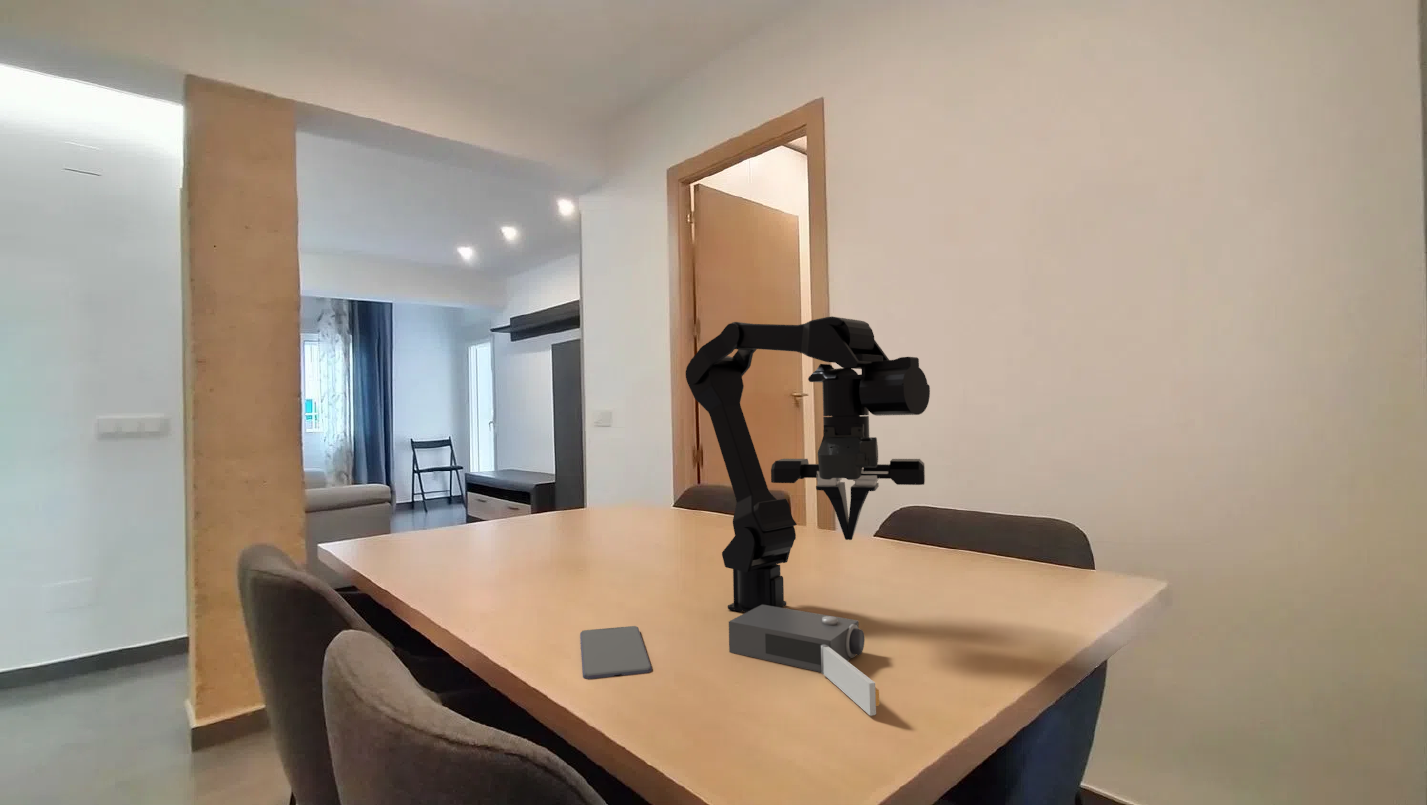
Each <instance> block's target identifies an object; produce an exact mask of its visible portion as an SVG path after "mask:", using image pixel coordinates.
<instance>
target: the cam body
mask: <svg viewBox="0 0 1427 805" xmlns="http://www.w3.org/2000/svg"><path fill="white" fill-rule="evenodd" d="M859 625H860V624H859V620H857V619H852V618H845V617H840V616H833V615H827V614H822V613H815V612H811V611H810V612H809V611H803V610H797V609H790V608H786V607H782V608H780V607H774V606H768V605H760V606H758V607H756V608H754V609H752V610H750V611H748V612H743V614H740V615H738V616H737V617H735V618H732V619H731V620H729V621H728V650H729V651H728V653H732V654H736V655H742V656H746V657H749V658H750V657H751V658H755V659H760V660H762V661H763V660H764V661H768V662H773V663H778V664H782V665H786V666H791V667H796V668H799V669H805V670H810V671H814V672H818V673H821V645H824V644H825V645H828V646H829V647H830V648H831V649H832V650H834V651H835V652H836V653H838V654H839V655H840V656H841V657H843V658H844V659H845V660H847V661H848V662H849V661H850V660H851V659H853V658H855V657H856V656H860V655H862V653H863V651H864V647H865V632H864V631H863V629H861V628H859V627H860V626H859Z"/></svg>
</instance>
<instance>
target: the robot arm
mask: <svg viewBox="0 0 1427 805" xmlns="http://www.w3.org/2000/svg"><path fill="white" fill-rule="evenodd" d="M735 350H737V351H736V352H735V353H734V355H732V356H729V355H730V354H732V353H733V352H734V351H735ZM757 350H765V351H766V350H767V351H780V352H781V351H782V352H797V353H799V354H803V355H805V356H806V357H808V358H812V359H815V360H818V361H821V362H826V363H820V364H819V365H818V367H817V369H816V370H815V371H813V372H812V373H811V374H810V376H808V379H807V380H808V381H809V383H822V415H823V417H822V419H823V420H822V421H823V422H822V423H823V424H822V425H823V426H822V427H823V428H822V429H823V430H822V431H823V437H822V439H821V442H820V445H819V448H818V450H817V460H818V463H809V460H808V458H781V459H777V460H775V461H774V462H773V463H772V464H771V468H770V479H771V480H770V483H773V484H795V483H796V482H797V481H799V480H804V479H805V478H806V479H810V478H811V479H816V481H817V484H816V485H815V489H816V491H823V492H824V493H825V495H826V496H827V498H828V499H829V502H830V503H831V505H832V507H833V509H834V512H835V514H836V517H837V521H838V522H839V526H840V528H841V531H842V535H843V538H844V539H845V541H852V540H853V539H854V534H855V531H856V528H857V525H858V521H859V519H860V515H861V512H862V509H863V506H864V503H865V501H866V499H867V497H868V495H869V493H870V492H876V491H877V490H878V488H879V486H880V485H879V482H878V480H879V479H881V480H882V479H885V480H886V479H887V480H889V479H891V481H893V483H895V484H896V485H897V486H898V485H900V486H902V485H903V486H904V485H905V486H907V485H908V486H921V485H922V486H923V485H925V483H926V470H925V469H926V468H925V462H923V460H922V459H921V458H891V460H890V461H889V462H890V463H887V464H886V463H885V464H884V463H883V464H882V463H881V464H879V446H878V438H877V437H870V417H869V416H870V414H872V415H873V416H918V415H922V414H923V413H924V412H926V409H927V407H928V405H929V401H930V396H931V388H930V385H929V384H928V380H927V377H926V374H925V373H924V371H923V369H921V368H920V359H919V358H918V357H914V356H901V357H898V358H896V359H890V358H888V356H887V355H886V353H885V352H884V351H883V349H882V348H881V346H880V345H879V343H878V342H877V341H876V340H875V334H874V331H873V329H872V327H871V326H870V324H869V323H868V322H866V321H864V320H860V319H853V318H846V317H845V318H844V317H838V316H826V317H821V318H817V319H811V320H810V321H807V322H805V323H801V324H771V323H770V324H768V323H764V324H763V323H750V322H741V321H732V322H731V323H728V324H727V325H726V326H725V327H724V329H723V330H722V331H721V333H719V334H718V335H717V336H715V337H714V338H712V339H711V340H709V341H708V342H707V343H705V344H703V346H701V347H699V349H698V351H697V352H696V353H695V355H693V357H692V358H691V359H690V361H689V362H688V364H687V366H686V368H685V380H686V382H687V385H688V388H689V389H690V392H691V393H692V396H693V398H694V400H695V401H696V402H698V404H699V405H700V406H702V408H703V409H704V410H705V411H707V413H708V414H709V417H710V420H711V423H712V427H713V430H714V432H715V433H714V434H715V436H716V439H717V442H718V445H719V448H720V451H721V456H722V458H723V462H724V466H725V467H726V471H727V474H728V475H727V476H728V477H729V481H730V483H731V487H732V490H733V494H734V496H735V500H736V501H735V502H736V503H735V504H736V505H735V509H734V512H733V517H732V526H733V532H734V536H733V538H732V539H731V540H730V542H729V543H728V544H727V546H726V547H725V548H724V549H723V550H722V552H721V556H722V560H723V564H724V567H725V568H726V569H731V570H732V582H733V584H732V585H733V586H732V587H733V603H730V604H728V605H727V609H728V610H729V611H730V610H731V611H737V612H742V613H746V612H748V611H750V610H752V609H754V608H756V607H758V606H760V605H768V606H774V607H780V608H784V607H785V606H787V600H785V596H784V595H785V594H784V592H785V591H784V587H785V586H784V576H783V575H781V564H786V563H788V560H789V556H790V553H791V551H792V550H791V549H792V548H793V545H794V542H795V540H797V537H796V536H797V535H796V529H795V526H797V524H798V523H797V522H796V521H795V520H794V517H793V514H792V512H791V507H790V503H789V502H788V500H787V499H786V498H781V499H780V498H779V499H777V498H776V497H775V496H774V495H773V494H772V493H771V492H770V491H769V487H768V485H767V482H766V478H765V476H764V472H763V469H762V466H761V464H760V461H759V457H758V454H757V451H756V448H755V445H754V442H753V439H752V437H751V433H750V431H749V430H750V429H749V428H748V425H747V424H748V423H747V422H746V418H745V416H744V412H743V409H742V406H741V400H742V396H743V392H744V387H745V386H744V381H743V376H745V374H746V373H747V372H748V370H749V369H750V367H751V364H752V361H753V356H754V353H755V352H756V351H757ZM828 363H829V364H828ZM830 363H835V364H837V366H839V367H840V368H834V367H833V366H832V364H830ZM855 369H856V370H857V369H858V370H861V374H859V373H858V372H857V371H856V370H855ZM842 479H846V480H848V481H850V480H852V481H853V482H854V484H853V485H851V486H850V504H849V510H848V501H847V499H848V498H847V490H846V483H845V481H842Z"/></svg>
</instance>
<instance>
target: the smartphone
mask: <svg viewBox="0 0 1427 805" xmlns="http://www.w3.org/2000/svg"><path fill="white" fill-rule="evenodd" d="M579 638H580V640H579V641H580V644H579V645H580V652H581V653H580V655H581V669H582V673H581V674H582V678H583V679H584V680H597V679H606V678H612V677H613V678H614V677H615V676H619V675H621V677H623V676H631V675H632V676H633V675H642V674H649V673H650V672H652V670H653V668H652V664H651V662H650V659H649V656H648V653H647V650H646V646H645V644H644V641H643V638H642V635H641V632H640V629H639V627H638V626H636V625H631V626H619V627H618V626H617V627H616V626H615V627H605V628H596V629H584V630H582V631H581V632H580V635H579Z"/></svg>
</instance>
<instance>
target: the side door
mask: <svg viewBox="0 0 1427 805" xmlns="http://www.w3.org/2000/svg"><path fill="white" fill-rule="evenodd" d="M820 673H821V675H823V676H824V677H825V678H827V679H828V680H829V681H830V682H831V683H833V684H834V686H836V687H837V688H838V689H840V690H841V691H842V692H843V693H844V694H845V695H846V696H847V697H849V699H851V700H852V701H853V703H855V704H856V705H857V706H859V707H860V708H861V709H862V710H863V711H864V712H865V713H866V714H867V715H869V716H870V717H871V716H875V715H877V707H879V706H880V691H879V690H880V689H878V688H877V687H876V681H874V680H872V679H871V678H870V677H868V675H866V674H864V672H862V671H861V670H859V669H858V668H857V667H855V666H854V665H853V664H851V662H849V660H848V661H847V660H845V659H844V658H843V657H841V656H840V655H839V654H838V653H836V652H835V651H834V650H832V649H831V648H830V647H829V646H828V645H825V644H824V645H821V672H820Z"/></svg>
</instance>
